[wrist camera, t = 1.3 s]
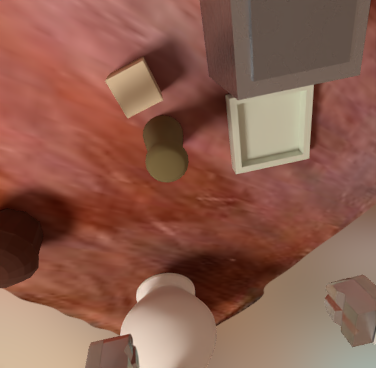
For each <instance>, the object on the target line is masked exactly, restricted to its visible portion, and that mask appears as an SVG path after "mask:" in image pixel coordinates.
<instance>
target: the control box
mask: <svg viewBox="0 0 376 368" xmlns="http://www.w3.org/2000/svg"><path fill="white" fill-rule="evenodd" d="M370 1H371V0H200V6H201V14H202V22H203V31H204V39H205V47H206V55H207V63H208V71H209V77H211V78H212V79H213V80H214V81H215V82H217V83H218V84H219V85H220V86H221V87H223V88H224V89H225V90H226V91H227V92H229V93H230V94H231V95H232V96H233V97H235V98H236V99H237V100H242V99H247V98H252V97H256V96H261V95H266V94H271V93H276V92H280V91H285V90H290V89H295V88H300V87H305V86H309V85H314V84H319V83H324V82H329V81H333V80H338V79H343V78H348V77H353V76H357V75H360V70H361V63H362V56H363V49H364V42H365V36H366V29H367V22H368V15H369V8H370Z"/></svg>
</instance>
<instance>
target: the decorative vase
mask: <svg viewBox="0 0 376 368" xmlns="http://www.w3.org/2000/svg"><path fill="white" fill-rule="evenodd" d="M136 299H137V302H138V303H137V304H136V305H135V306H134V307H133V308H132V309H131V310H130V312H129V313H128V314H127V316H126V318H125V319H124V322H123V324H122V327H121V333H120V336H122V335H127V334H131V335H132V338H133V345H134V346H136V349H137V352H138V357H139V368H206V367H207V365H208V363H209V361H210V359H211V356H212V354H213V351H214V347H215V344H216V324H215V320H214V317H213V315H212V313H211V311H210V309H209V308H208V307H207V306H206V305H205V304H204V303H203V302H202V301H201V300H200V299H199V298H197V297H196V296H195V287H194V284H193V283H192V281H191V280H190V279H188V278H187V277H185V276H183V275H180V274H176V273H162V274H158V275H154V276H152V277H150V278H148V279H146V280H145V281H144V282H143V283H142V284H141V285H140V286H139V288H138V290H137V294H136Z"/></svg>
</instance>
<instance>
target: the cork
mask: <svg viewBox="0 0 376 368" xmlns="http://www.w3.org/2000/svg"><path fill="white" fill-rule="evenodd" d="M143 138H144V142H145V145H146V148H147V151H148V153H147V155H146V167H147V170H148V172H149V173H150V175H151V176H152V177H153V178H155V179H156V180H158V181H161V182H173V181H175V180H178V179H180V178H181V177H182V176H183V175H184V174H185V172H186V170H187V167H188V155H187V153H186V151H185V149H184V148H183V130H182V127H181V125H180V123H178V122H177V121H176V120H175V119H174V118H172V117H170V116H164V115H162V116H156V117H154V118H152V119H151V120H150V121H149V122H148V123H147V124H146V125H145V128H144V130H143Z"/></svg>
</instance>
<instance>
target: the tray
mask: <svg viewBox="0 0 376 368" xmlns="http://www.w3.org/2000/svg"><path fill="white" fill-rule="evenodd" d="M313 90H314V85H309V86H305V87H300V88H295V89H290V90H285V91H280V92H276V93H271V94H266V95H261V96H256V97H252V98H247V99H242V100H237V99H236V98H235V97H233V96H232V95H231V94H228V95H225V97H226V107H227V118H228V128H229V138H230V149H231V159H232V168H233V170H234V171H235V173H236V174H239V173H244V172H249V171H253V170H258V169H263V168H267V167H272V166H277V165H281V164H286V163H291V162H295V161H300V160H305V159H309V151H310V136H311V121H312V105H313Z"/></svg>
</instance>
